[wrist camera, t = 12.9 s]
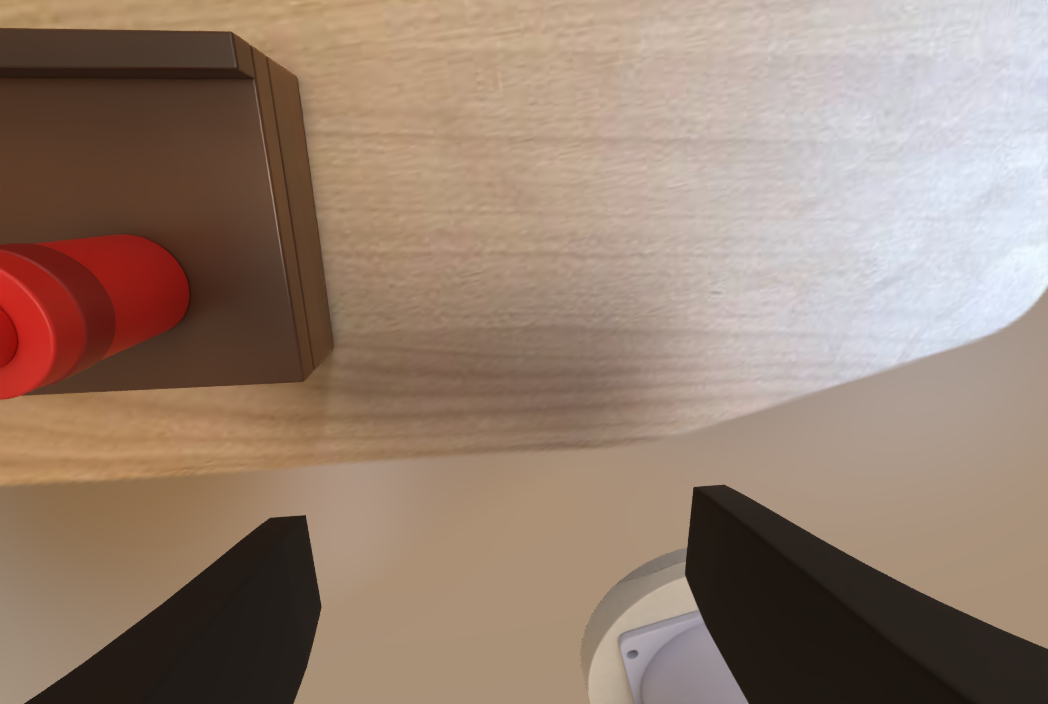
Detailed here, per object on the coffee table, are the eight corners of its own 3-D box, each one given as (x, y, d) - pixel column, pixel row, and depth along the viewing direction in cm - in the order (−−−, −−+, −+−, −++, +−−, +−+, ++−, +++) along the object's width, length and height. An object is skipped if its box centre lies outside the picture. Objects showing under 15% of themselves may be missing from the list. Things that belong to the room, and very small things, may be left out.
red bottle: (210, 320, 14) (37, 404, 8) (112, 348, 14) (-130, 452, 8) (161, 219, 13) (-71, 237, 8) (55, 248, 13) (-259, 288, 8)
